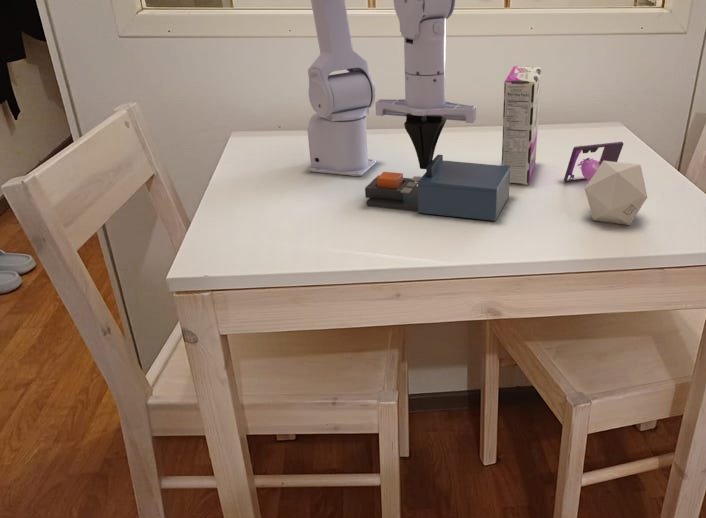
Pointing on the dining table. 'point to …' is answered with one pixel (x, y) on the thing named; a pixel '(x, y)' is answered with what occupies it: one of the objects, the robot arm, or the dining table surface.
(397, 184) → the on key
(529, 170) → the candy bar box
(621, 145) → the purple piece
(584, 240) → the dining table surface
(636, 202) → the die
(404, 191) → the keypad
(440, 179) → the cover
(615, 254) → the dining table surface
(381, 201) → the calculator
